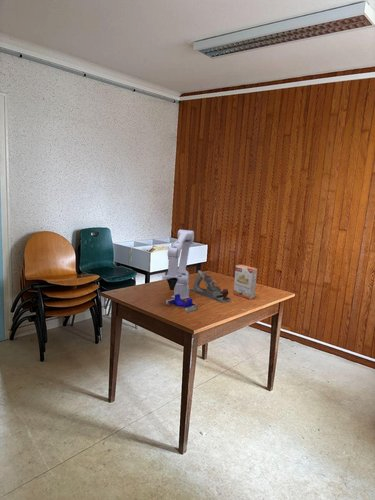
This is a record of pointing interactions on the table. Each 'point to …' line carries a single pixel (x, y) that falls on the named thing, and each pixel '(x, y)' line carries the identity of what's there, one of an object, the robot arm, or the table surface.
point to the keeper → (188, 309)
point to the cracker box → (245, 281)
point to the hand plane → (210, 288)
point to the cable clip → (179, 303)
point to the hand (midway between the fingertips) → (171, 290)
